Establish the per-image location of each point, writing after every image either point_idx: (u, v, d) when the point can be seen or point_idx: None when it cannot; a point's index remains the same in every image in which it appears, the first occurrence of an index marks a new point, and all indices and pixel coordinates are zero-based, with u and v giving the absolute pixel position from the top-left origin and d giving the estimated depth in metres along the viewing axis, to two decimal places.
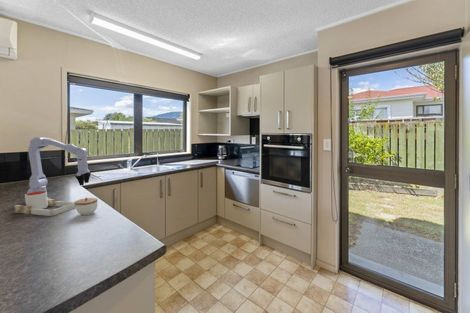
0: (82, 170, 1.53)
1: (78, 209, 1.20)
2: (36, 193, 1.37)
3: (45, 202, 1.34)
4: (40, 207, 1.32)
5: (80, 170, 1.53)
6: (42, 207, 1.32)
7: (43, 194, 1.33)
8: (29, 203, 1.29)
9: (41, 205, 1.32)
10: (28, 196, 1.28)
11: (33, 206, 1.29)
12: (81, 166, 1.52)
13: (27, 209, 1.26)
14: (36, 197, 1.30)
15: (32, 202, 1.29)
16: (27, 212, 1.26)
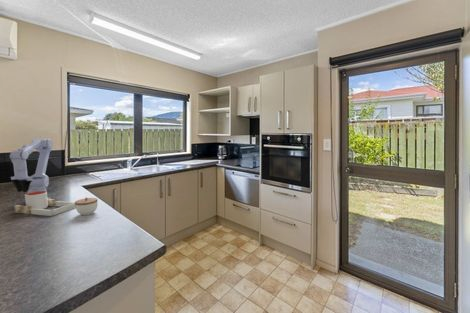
0: None
1: (78, 209, 1.20)
2: (36, 193, 1.37)
3: (45, 202, 1.34)
4: (40, 207, 1.32)
5: None
6: (42, 207, 1.32)
7: (43, 194, 1.33)
8: (29, 203, 1.29)
9: (41, 205, 1.32)
10: (28, 196, 1.28)
11: (33, 206, 1.29)
12: None
13: (27, 209, 1.26)
14: (36, 197, 1.30)
15: (32, 202, 1.29)
16: (27, 212, 1.26)
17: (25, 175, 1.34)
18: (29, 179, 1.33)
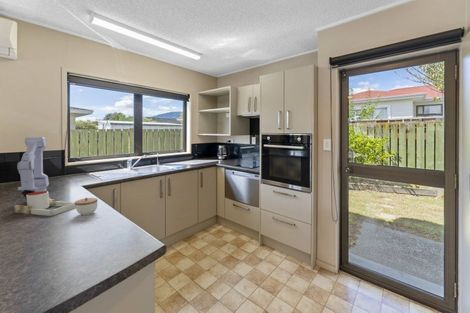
0: None
1: (78, 209, 1.20)
2: (37, 193, 1.37)
3: (46, 202, 1.34)
4: (42, 207, 1.31)
5: None
6: (44, 207, 1.32)
7: (45, 194, 1.33)
8: (31, 203, 1.29)
9: (43, 205, 1.32)
10: (30, 196, 1.28)
11: (35, 206, 1.29)
12: None
13: (27, 209, 1.26)
14: (38, 197, 1.30)
15: (34, 202, 1.29)
16: (27, 212, 1.26)
17: (32, 186, 1.34)
18: (36, 190, 1.32)
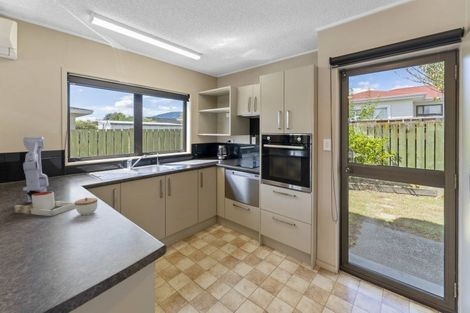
0: None
1: (78, 209, 1.20)
2: (43, 193, 1.36)
3: (52, 202, 1.33)
4: (47, 208, 1.30)
5: None
6: (49, 208, 1.31)
7: (50, 194, 1.32)
8: (36, 203, 1.28)
9: (48, 206, 1.31)
10: (35, 196, 1.27)
11: (40, 207, 1.28)
12: None
13: (27, 209, 1.26)
14: (43, 197, 1.29)
15: (39, 202, 1.28)
16: (27, 212, 1.26)
17: (37, 186, 1.33)
18: (41, 190, 1.31)
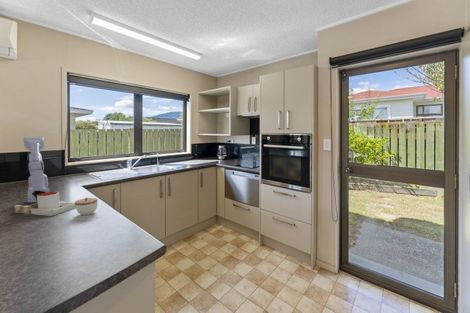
0: None
1: (78, 209, 1.20)
2: (48, 194, 1.35)
3: (57, 203, 1.32)
4: (52, 208, 1.29)
5: None
6: (54, 208, 1.30)
7: (55, 195, 1.31)
8: (41, 204, 1.27)
9: (53, 206, 1.30)
10: (40, 197, 1.26)
11: (45, 207, 1.27)
12: None
13: (27, 209, 1.26)
14: (49, 197, 1.28)
15: (44, 203, 1.27)
16: (27, 212, 1.26)
17: (42, 186, 1.32)
18: (47, 190, 1.30)
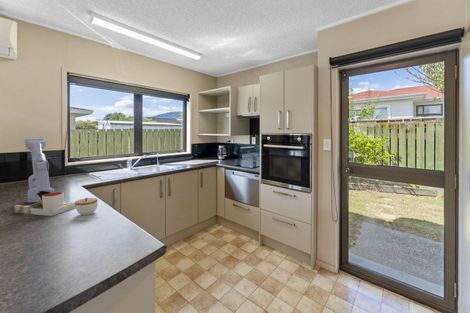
0: None
1: (78, 209, 1.20)
2: (52, 194, 1.34)
3: (62, 203, 1.31)
4: None
5: None
6: None
7: (60, 195, 1.30)
8: (46, 204, 1.26)
9: (58, 207, 1.29)
10: (45, 197, 1.25)
11: (50, 207, 1.26)
12: None
13: (27, 209, 1.26)
14: (54, 198, 1.27)
15: (50, 203, 1.26)
16: (27, 212, 1.26)
17: (47, 186, 1.31)
18: (52, 191, 1.29)
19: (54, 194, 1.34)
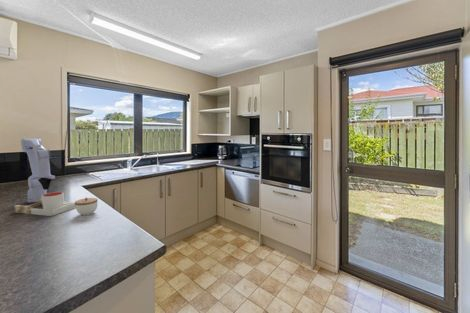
0: None
1: (78, 209, 1.20)
2: (52, 194, 1.34)
3: (62, 203, 1.31)
4: None
5: None
6: None
7: (60, 195, 1.30)
8: (46, 204, 1.26)
9: (58, 207, 1.29)
10: (45, 197, 1.25)
11: (50, 207, 1.26)
12: None
13: (27, 209, 1.26)
14: (54, 198, 1.27)
15: (49, 203, 1.26)
16: (27, 212, 1.26)
17: (48, 173, 1.40)
18: (52, 177, 1.38)
19: (54, 194, 1.34)
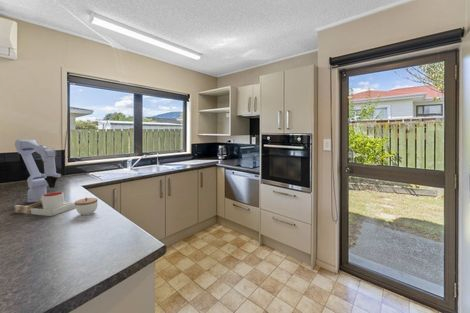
0: None
1: (78, 209, 1.20)
2: (52, 194, 1.34)
3: (62, 203, 1.31)
4: None
5: None
6: None
7: (60, 195, 1.30)
8: (46, 204, 1.26)
9: (58, 207, 1.29)
10: (45, 197, 1.25)
11: (50, 207, 1.26)
12: None
13: (27, 209, 1.26)
14: (54, 198, 1.27)
15: (49, 203, 1.26)
16: (27, 212, 1.26)
17: (54, 172, 1.44)
18: (58, 176, 1.42)
19: (54, 194, 1.34)
